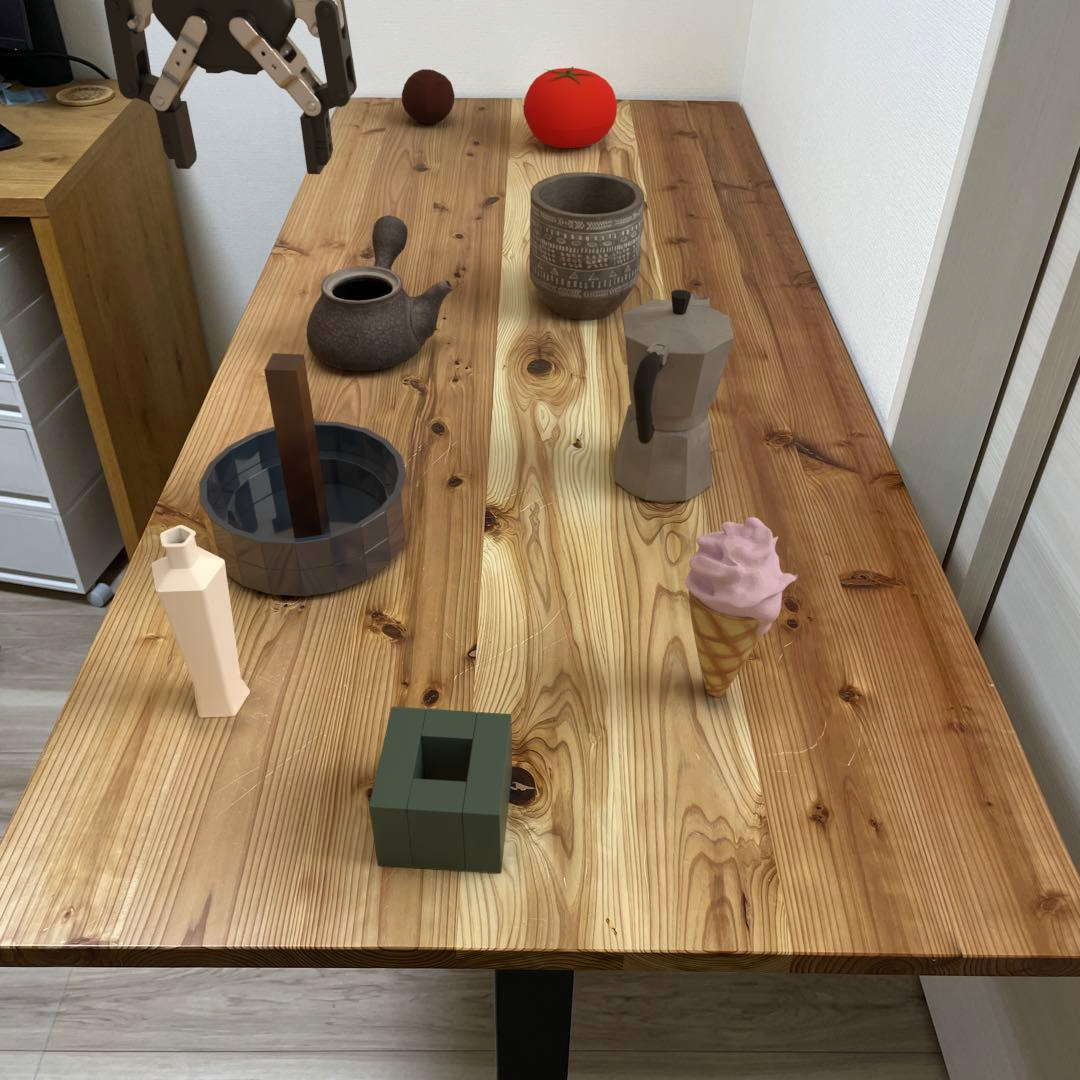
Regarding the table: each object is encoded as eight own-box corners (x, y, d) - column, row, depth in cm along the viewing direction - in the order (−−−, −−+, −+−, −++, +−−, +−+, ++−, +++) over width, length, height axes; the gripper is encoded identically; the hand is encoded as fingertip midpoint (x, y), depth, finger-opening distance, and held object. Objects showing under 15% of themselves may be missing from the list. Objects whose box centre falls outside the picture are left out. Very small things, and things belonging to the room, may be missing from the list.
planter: (515, 319, 118) (514, 207, 110) (547, 271, 127) (548, 165, 119) (622, 336, 115) (629, 223, 107) (647, 286, 124) (655, 179, 116)
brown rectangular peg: (294, 537, 88) (263, 369, 78) (301, 519, 90) (272, 352, 80) (322, 539, 88) (296, 371, 78) (329, 520, 90) (304, 354, 80)
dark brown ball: (432, 108, 171) (430, 57, 166) (468, 124, 165) (466, 72, 160) (390, 119, 167) (386, 67, 162) (425, 136, 161) (422, 83, 156)
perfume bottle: (206, 735, 73) (158, 572, 63) (178, 697, 76) (127, 534, 66) (266, 703, 75) (229, 540, 66) (237, 667, 78) (197, 505, 68)
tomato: (576, 121, 167) (578, 50, 160) (632, 145, 159) (637, 71, 153) (504, 141, 160) (503, 68, 153) (559, 167, 152) (561, 91, 146)
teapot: (454, 379, 108) (450, 289, 102) (301, 380, 108) (287, 289, 101) (459, 292, 123) (455, 208, 116) (324, 293, 122) (313, 209, 116)
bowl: (186, 595, 84) (170, 536, 80) (244, 472, 96) (232, 416, 92) (391, 607, 83) (385, 548, 79) (423, 481, 95) (419, 425, 91)
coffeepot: (637, 424, 103) (652, 247, 91) (732, 448, 100) (760, 269, 88) (576, 515, 92) (584, 328, 80) (681, 545, 89) (705, 355, 77)
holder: (377, 865, 65) (368, 806, 62) (398, 766, 71) (391, 706, 67) (501, 874, 65) (499, 815, 61) (512, 773, 71) (511, 713, 67)
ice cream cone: (779, 682, 77) (816, 522, 68) (746, 740, 73) (781, 578, 63) (695, 648, 80) (719, 488, 70) (658, 702, 76) (679, 540, 66)
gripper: (49, -115, 56) (123, 186, 67) (316, -108, 56) (349, 194, 66) (103, -137, 62) (164, 143, 73) (346, -132, 61) (371, 150, 72)
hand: (252, 167), depth 69 cm, fingers open, 8 cm apart
